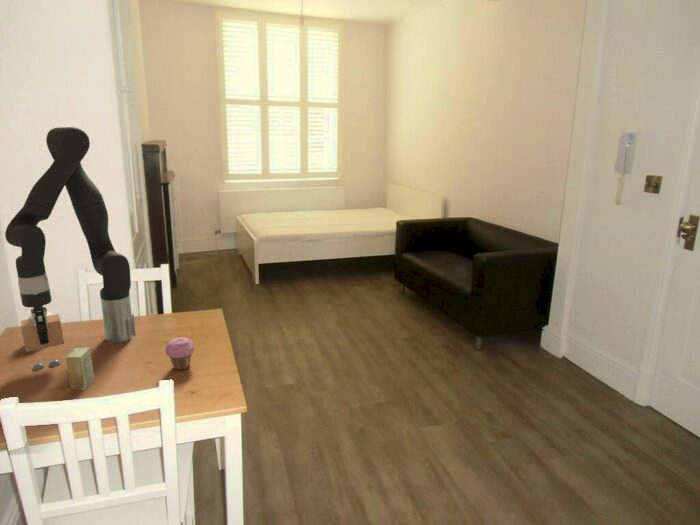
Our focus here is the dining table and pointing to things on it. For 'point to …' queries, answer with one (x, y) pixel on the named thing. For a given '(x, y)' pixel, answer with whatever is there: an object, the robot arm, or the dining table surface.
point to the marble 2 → (54, 363)
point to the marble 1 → (38, 366)
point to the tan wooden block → (32, 336)
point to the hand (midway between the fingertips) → (44, 339)
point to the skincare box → (80, 368)
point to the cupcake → (180, 352)
